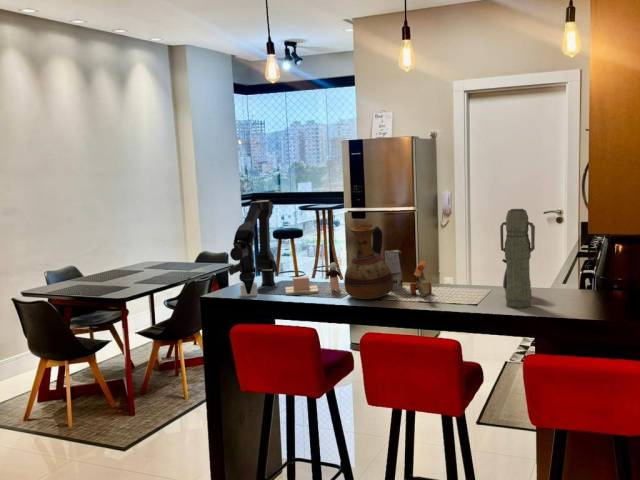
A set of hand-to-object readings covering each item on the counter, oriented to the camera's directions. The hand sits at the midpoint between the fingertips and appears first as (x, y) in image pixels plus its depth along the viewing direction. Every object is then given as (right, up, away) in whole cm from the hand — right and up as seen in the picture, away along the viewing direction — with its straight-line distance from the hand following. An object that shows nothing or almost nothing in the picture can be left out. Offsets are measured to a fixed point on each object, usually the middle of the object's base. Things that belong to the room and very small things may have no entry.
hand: (249, 292), depth 272 cm
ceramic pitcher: (+51, -1, -18) cm, 54 cm away
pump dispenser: (+107, +1, -32) cm, 112 cm away
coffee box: (+63, +2, -3) cm, 63 cm away
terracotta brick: (+23, +1, +1) cm, 23 cm away
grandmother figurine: (+37, 0, -3) cm, 37 cm away
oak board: (+23, 0, +1) cm, 23 cm away
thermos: (+103, -1, -47) cm, 113 cm away
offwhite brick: (0, -1, 0) cm, 1 cm away
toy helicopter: (+72, 0, -24) cm, 76 cm away
